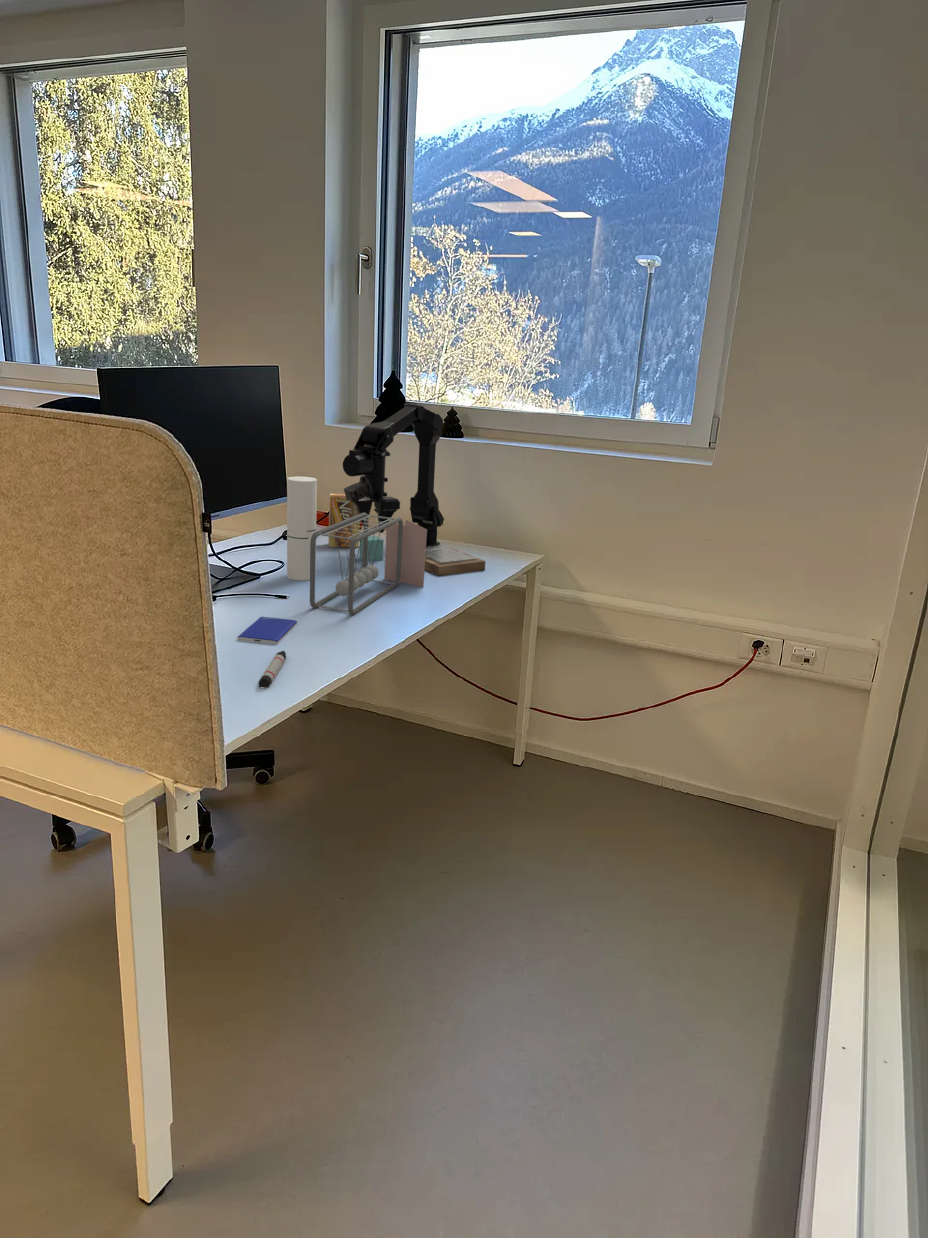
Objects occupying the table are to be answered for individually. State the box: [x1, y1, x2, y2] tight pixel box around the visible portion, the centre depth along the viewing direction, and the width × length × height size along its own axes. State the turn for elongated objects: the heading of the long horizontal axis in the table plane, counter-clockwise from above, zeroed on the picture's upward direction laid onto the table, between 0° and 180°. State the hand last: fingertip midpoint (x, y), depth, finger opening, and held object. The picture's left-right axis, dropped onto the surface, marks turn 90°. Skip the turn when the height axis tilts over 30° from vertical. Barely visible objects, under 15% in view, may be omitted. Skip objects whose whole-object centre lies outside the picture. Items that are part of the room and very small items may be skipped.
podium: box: [425, 547, 486, 576], centre depth 220 cm, size 16×16×3 cm
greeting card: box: [383, 519, 427, 588], centre depth 199 cm, size 11×7×15 cm, turn 32°
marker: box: [258, 650, 287, 689], centre depth 141 cm, size 15×2×2 cm, turn 0°
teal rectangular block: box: [358, 535, 385, 563], centre depth 220 cm, size 4×5×6 cm
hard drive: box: [237, 616, 298, 646], centre depth 160 cm, size 2×8×12 cm
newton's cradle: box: [309, 513, 404, 616], centre depth 184 cm, size 30×10×18 cm, turn 163°
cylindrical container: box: [286, 475, 318, 581], centre depth 195 cm, size 7×7×25 cm
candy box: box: [328, 493, 361, 548], centre depth 230 cm, size 9×4×15 cm, turn 103°
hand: (372, 528), depth 218 cm, fingers open, 9 cm apart
